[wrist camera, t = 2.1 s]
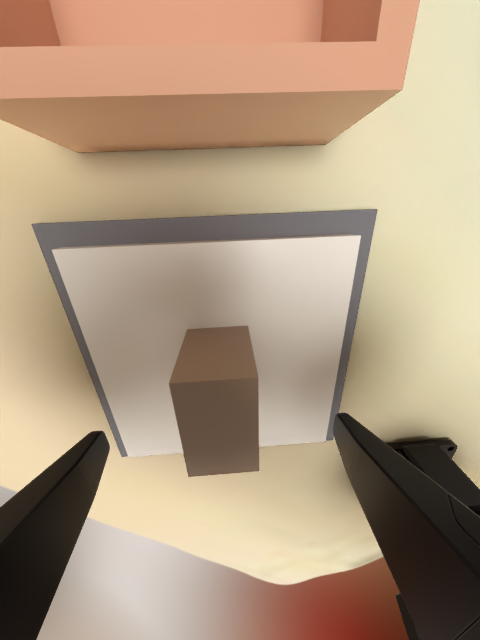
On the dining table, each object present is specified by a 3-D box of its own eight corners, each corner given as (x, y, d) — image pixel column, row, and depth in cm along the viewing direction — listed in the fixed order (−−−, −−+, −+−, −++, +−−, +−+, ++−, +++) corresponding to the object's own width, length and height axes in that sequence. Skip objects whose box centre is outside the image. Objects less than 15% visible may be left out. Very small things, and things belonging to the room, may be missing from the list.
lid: (320, 431, 16) (356, 512, 12) (133, 445, 16) (96, 536, 11) (351, 234, 11) (441, 246, 6) (64, 247, 10) (-60, 270, 6)
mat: (330, 435, 17) (332, 440, 16) (124, 451, 16) (121, 456, 16) (372, 209, 11) (377, 209, 10) (38, 223, 10) (31, 223, 10)
